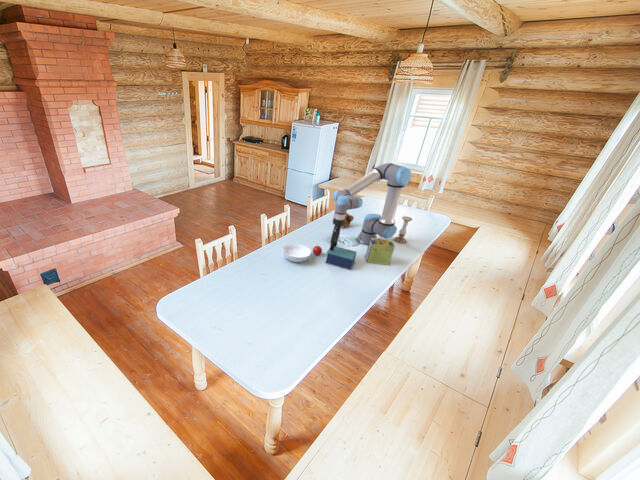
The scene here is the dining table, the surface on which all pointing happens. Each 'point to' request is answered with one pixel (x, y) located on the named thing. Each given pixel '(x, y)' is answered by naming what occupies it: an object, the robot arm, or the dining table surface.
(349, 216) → the teddy bear
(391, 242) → the protein box
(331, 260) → the lunchbox
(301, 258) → the serving bowl
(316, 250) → the apple
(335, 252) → the lid
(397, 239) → the candle holder
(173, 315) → the dining table surface
